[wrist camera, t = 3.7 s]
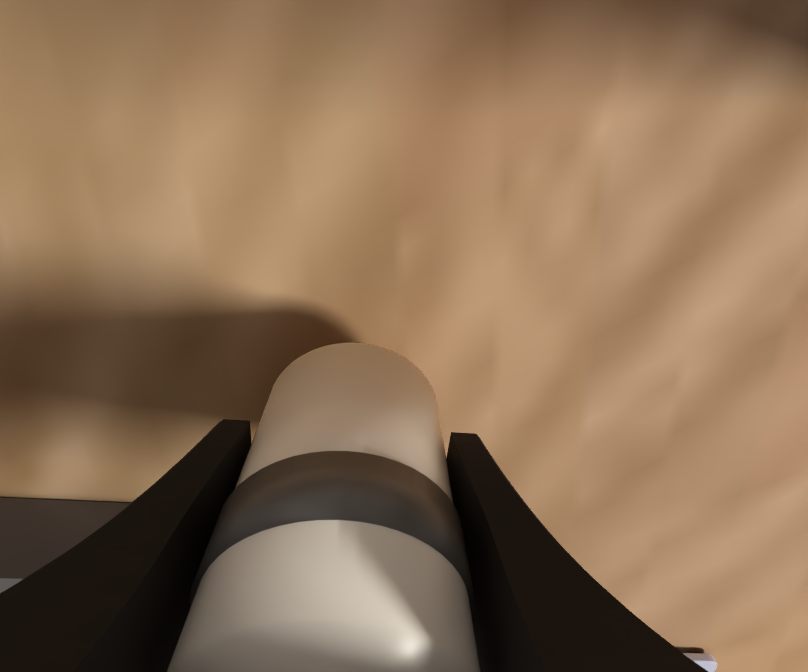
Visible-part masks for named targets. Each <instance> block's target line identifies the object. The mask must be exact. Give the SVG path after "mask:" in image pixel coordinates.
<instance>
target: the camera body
mask: <svg viewBox="0 0 808 672" xmlns="http://www.w3.org/2000/svg"><path fill="white" fill-rule="evenodd" d="M130 504H131V503H117V502H94V501H71V500H48V499H24V498H1V497H0V593H2V592H3V591H5V590H7V589H8V588H10V587H12V586H13V585H15V584H17V583H18V582H20V581H21V580H23V579H24V578H26V577H28V576H29V575H31V574H32V573H34V572H35V571H37V570H39V569H40V568H42V567H43V566H45V565H46V564H48V563H50V562H51V561H53V560H54V559H56V558H57V557H59V556H61V555H62V554H64V553H65V552H67V551H68V550H70V549H71V548H73V547H74V546H75V545H77V544H78V543H80V542H81V541H82V540H84V539H85V538H87V537H88V536H89V535H91V534H92V533H94V532H95V531H96V530H98V529H99V528H100V527H102V526H103V525H104V524H106V523H107V522H108V521H110V520H111V519H112V518H113V517H115V516H116V515H117V514H119V513H120V512H121V511H122V510H124V509H125V508H126V507H127V506H128V505H130Z"/></svg>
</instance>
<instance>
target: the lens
mask: <svg viewBox="0 0 808 672" xmlns="http://www.w3.org/2000/svg"><path fill="white" fill-rule="evenodd" d="M474 609H475V601H474V592H473V586H472V580H471V574H470V568H469V563H468V557H467V551H466V545H465V539H464V534H463V528H462V524H461V520H460V516H459V514H458V512H457V510H456V508H455V506H454V504H453V498H452V492H451V486H450V479H449V473H448V467H447V461H446V454H445V448H444V442H443V436H442V430H441V423H440V417H439V411H438V405H437V400H436V396H435V393H434V391H433V389H432V386H431V385H430V383H429V381H428V380H427V378H426V377H425V376H424V374H423V373H422V372H421V371H420V370H419V369H418V368H417V367H416V366H415V365H414V364H413V363H412V362H410V361H409V360H407V359H406V358H404V357H403V356H401V355H399V354H397V353H395V352H393V351H391V350H388V349H385V348H383V347H379V346H375V345H371V344H364V343H338V344H332V345H327V346H323V347H320V348H317V349H314V350H312V351H310V352H308V353H306V354H304V355H302V356H300V357H299V358H297V359H296V360H294V361H293V362H292V363H291V364H290V365H288V366H287V367H286V368H285V369H284V370H283V372H282V373H281V374H280V375H279V377H278V378H277V380H276V382H275V383H274V385H273V388H272V390H271V393H270V396H269V398H268V401H267V404H266V406H265V409H264V412H263V415H262V417H261V420H260V423H259V425H258V428H257V431H256V433H255V436H254V439H253V441H252V444H251V447H250V449H249V452H248V455H247V458H246V460H245V463H244V466H243V468H242V471H241V474H240V476H239V479H238V482H237V484H236V487H235V490H234V491H233V492H232V493H231V494H230V495H229V497H228V498H227V500H226V502H225V503H224V505H223V507H222V509H221V512H220V514H219V517H218V520H217V522H216V525H215V527H214V530H213V533H212V535H211V538H210V540H209V543H208V546H207V548H206V551H205V553H204V556H203V558H202V561H201V564H200V566H199V569H198V571H197V574H196V577H195V579H194V582H193V585H192V587H191V593H190V611H189V613H188V616H187V619H186V621H185V624H184V627H183V630H182V632H181V635H180V638H179V640H178V643H177V646H176V648H175V651H174V654H173V656H172V659H171V662H170V664H169V667H168V670H167V672H480V666H479V660H478V654H477V647H476V641H475V635H474V629H473V622H472V620H473V615H474Z"/></svg>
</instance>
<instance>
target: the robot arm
mask: <svg viewBox="0 0 808 672" xmlns="http://www.w3.org/2000/svg"><path fill="white" fill-rule="evenodd" d="M250 447H251V431H250V421H246V420H228V419H223V420H222V421H221V422H219V423H218V424H217V425H216V426H215V427H214V428H213V429H212V430H211V431H210V432H209V433H208V434H207V435H206V436H205V437H204V438H203V439H202V440H201V441H200V442H199V443H198V444H197V445H196V446H195V447H194V448H193V449H192V450H190V451H189V452H188V453H187V454H186V455H185V456H184V457H183V458H182V459H181V460H180V461H179V462H178V463H177V464H176V465H174V466H173V467H172V468H171V469H170V470H169V471H168V472H167V473H166V474H165V475H164V476H162V477H161V478H160V479H159V480H158V481H157V482H156V483H155V484H153V485H152V486H151V487H150V488H149V489H148V490H146V491H145V492H144V493H143V494H142V495H140V496H139V497H138V498H137V499H136V500H134V501H133V502H132V503H131V504H130V505H128V506H127V507H126V508H125V509H124V510H122V511H121V512H120V513H119V514H117V515H116V516H115V517H113V518H112V519H111V520H110V521H108V522H107V523H106V524H104V525H103V526H102V527H100V528H99V529H98V530H96V531H95V532H94V533H92V534H91V535H89V536H88V537H87V538H85V539H84V540H82V541H81V542H80V543H78V544H77V545H75V546H74V547H73V548H71V549H70V550H68V551H67V552H65V553H64V554H62V555H61V556H59V557H57V558H56V559H54V560H53V561H51V562H50V563H48V564H46V565H45V566H43V567H42V568H40V569H39V570H37V571H35V572H34V573H32V574H31V575H29V576H28V577H26V578H24V579H23V580H21V581H20V582H18V583H17V584H15V585H13V586H12V587H10V588H8V589H7V590H5V591H3V592H2V593H0V672H167V670H168V667H169V664H170V662H171V659H172V656H173V654H174V651H175V648H176V646H177V643H178V640H179V638H180V635H181V632H182V630H183V627H184V624H185V621H186V619H187V616H188V613H189V611H190V593H191V587H192V585H193V582H194V579H195V577H196V574H197V571H198V569H199V566H200V564H201V561H202V558H203V556H204V553H205V551H206V548H207V546H208V543H209V540H210V538H211V535H212V533H213V530H214V527H215V525H216V522H217V520H218V517H219V514H220V512H221V509H222V507H223V505H224V503H225V502H226V500H227V498H228V497H229V495H230V494H231V493H232V492H233V491H234V490H235V487H236V484H237V482H238V479H239V476H240V474H241V471H242V468H243V466H244V463H245V460H246V458H247V455H248V452H249V449H250ZM446 461H447V467H448V473H449V479H450V486H451V492H452V498H453V504H454V506H455V508H456V510H457V512H458V514H459V516H460V520H461V524H462V528H463V534H464V539H465V545H466V551H467V557H468V563H469V568H470V574H471V580H472V586H473V592H474V601H475V609H474V615H473V620H472V622H473V629H474V635H475V641H476V647H477V654H478V660H479V666H480V672H714V671H715V670H716V668H717V662H716V661H715V659H714V657H713V656H712V655H710V654H703V653H682V652H680V651H679V650H678V649H676V648H675V647H674V646H673V645H671V644H670V643H669V642H667V641H666V640H665V639H664V638H662V637H661V636H660V635H659V634H657V633H656V632H655V631H653V630H652V629H651V628H650V627H648V626H647V625H646V624H645V623H644V622H642V621H641V620H640V619H639V618H638V617H636V616H635V615H634V614H633V613H632V612H630V611H629V610H628V609H627V608H626V607H625V606H624V605H622V604H621V603H620V602H619V601H618V600H617V599H616V598H615V597H613V596H612V595H611V594H610V593H609V592H608V591H607V590H606V589H604V588H603V587H602V586H601V585H600V584H599V583H598V582H597V581H596V580H595V579H594V578H593V577H591V576H590V575H589V574H588V573H587V572H586V571H585V570H584V569H583V568H582V567H581V566H580V565H579V564H578V563H577V562H576V561H575V560H574V559H573V558H572V557H571V556H570V555H569V553H568V552H567V551H566V550H565V549H564V548H563V547H562V546H561V545H560V544H559V543H558V542H557V541H556V539H555V538H554V537H553V536H552V535H551V534H550V533H549V531H548V530H547V529H546V528H545V527H544V525H543V524H542V523H541V522H540V521H539V520H538V518H537V517H536V516H535V515H534V513H533V512H532V511H531V510H530V508H529V507H528V506H527V505H526V503H525V502H524V501H523V499H522V498H521V497H520V495H519V494H518V493H517V491H516V490H515V489H514V487H513V486H512V485H511V483H510V482H509V481H508V479H507V478H506V476H505V475H504V474H503V472H502V471H501V469H500V468H499V466H498V465H497V464H496V462H495V461H494V459H493V458H492V456H491V455H490V453H489V452H488V450H487V449H486V447H485V445H484V444H483V442H482V441H481V439H480V438H479V437H478V436H477V434H470V433H453V432H451V436H450V442H449V448H448V453H447V459H446Z"/></svg>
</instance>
